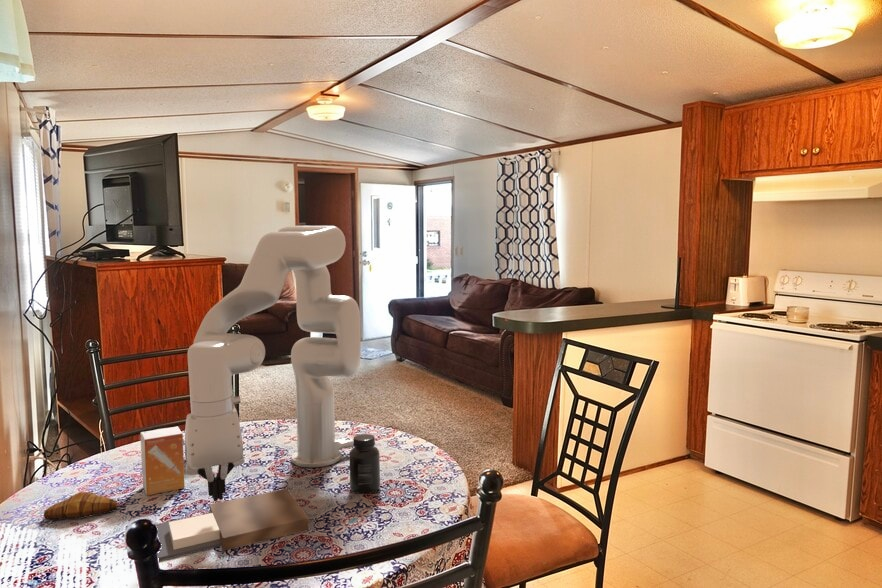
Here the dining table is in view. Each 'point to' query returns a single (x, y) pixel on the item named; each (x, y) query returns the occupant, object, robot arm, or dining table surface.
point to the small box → (162, 460)
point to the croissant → (81, 506)
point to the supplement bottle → (364, 465)
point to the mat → (169, 552)
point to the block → (193, 531)
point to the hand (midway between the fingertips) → (217, 497)
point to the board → (258, 518)
